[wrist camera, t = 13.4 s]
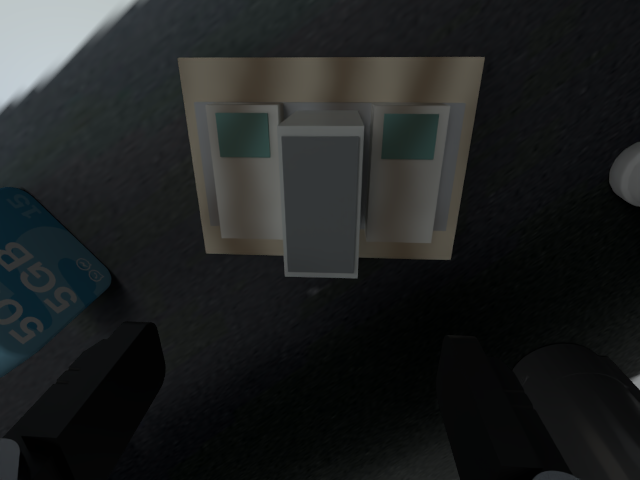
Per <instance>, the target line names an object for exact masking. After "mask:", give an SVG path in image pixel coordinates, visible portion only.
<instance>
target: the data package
mask: <svg viewBox="0 0 640 480" xmlns="http://www.w3.org/2000/svg"><path fill="white" fill-rule="evenodd" d="M110 284H111V275H110V272H109V271H108V269H107V268H106V267H105V266H104V265H103V264H102V263H101V262H100V261H99V260H98V259H97V258H96V257H95V256H94V255H93V254H92V253H91V252H90V251H89V250H87V249H86V248H85V247H84V246H83V245H82V244H81V243H80V242H79V241H78V240H77V239H76V238H75V237H74V236H73V235H72V234H71V233H70V232H69V231H68V230H67V229H66V228H65V227H64V226H63V225H61V224H60V223H59V222H58V221H57V220H56V219H55V218H54V217H53V216H52V215H51V214H50V213H49V212H48V211H47V210H46V209H45V208H44V207H43V206H42V205H41V204H40V203H39V202H38V201H36V200H35V199H34V198H33V197H32V196H31V195H30V194H28V193H27V192H25V191H23V190H21V189H18V188H13V187H4V188H0V377H3V376H4V375H6V374H7V373H9V372H10V371H12V370H13V369H14V368H16V367H17V366H19V365H20V364H21V363H23V362H24V361H26V360H27V359H28V358H30V357H31V356H33V355H34V354H35V353H37V352H38V351H39V350H40V349H41V348H43V347H44V346H45V345H46V344H47V343H48V342H49V341H50V340H51V339H52V338H54V337H55V336H56V335H57V334H58V333H59V332H60V331H61V330H62V329H63V328H65V327H66V326H67V325H68V324H69V323H70V322H71V321H72V320H73V319H74V318H76V317H77V316H78V315H79V314H80V313H81V312H82V311H83V310H84V309H85V308H87V307H88V306H89V305H90V304H91V303H92V302H93V301H94V300H95V299H97V298H98V297H99V296H100V295H101V294H102V293H103V292H104V291H105V290H106V289H108V287H109V286H110Z"/></svg>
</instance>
